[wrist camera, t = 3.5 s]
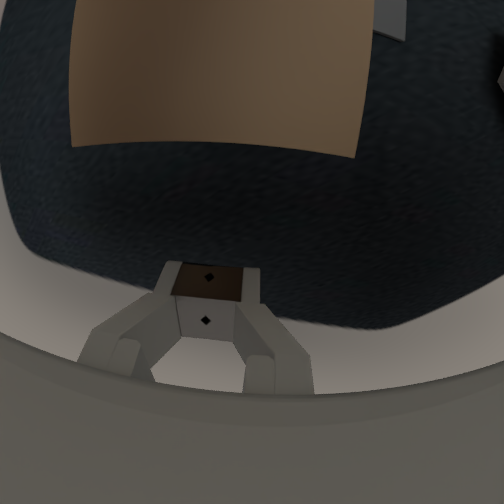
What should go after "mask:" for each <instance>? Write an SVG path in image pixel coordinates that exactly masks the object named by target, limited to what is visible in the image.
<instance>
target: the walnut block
mask: <svg viewBox="0 0 504 504" xmlns="http://www.w3.org/2000/svg"><path fill="white" fill-rule="evenodd" d="M373 19H374V0H77V2H76V8H75V14H74V21H73V28H72V37H71V48H70V65H69V110H70V128H71V140H72V147H77V146H87V145H97V144H109V143H124V142H147V141H202V142H226V143H242V144H254V145H266V146H275V147H284V148H293V149H300V150H308V151H315V152H321V153H327V154H333V155H339V156H345V157H350V158H354V157H355V152H356V147H357V142H358V137H359V131H360V126H361V120H362V114H363V108H364V101H365V95H366V88H367V80H368V73H369V64H370V55H371V45H372V33H373Z"/></svg>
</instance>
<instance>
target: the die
mask: <svg viewBox="0 0 504 504" xmlns="http://www.w3.org/2000/svg"><path fill="white" fill-rule="evenodd" d="M497 82H498V84H499V85H500V87H501V89H502V90H503V92H504V67H503V70H502V72H501V74H500V77H499V79H498V81H497Z"/></svg>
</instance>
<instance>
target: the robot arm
mask: <svg viewBox="0 0 504 504" xmlns="http://www.w3.org/2000/svg"><path fill="white" fill-rule="evenodd" d="M242 280H243V281H242ZM181 336H182V337H193V338H204V339H212V340H220V341H229V342H233V344H234V345H235V347H236V349H237V351H238V353H239V354H240V356H241V358H242V360H243V361H244V363H245V365H246V369H245V377H244V384H243V391H242V393H234V392H223V391H213V390H204V389H196V388H188V387H182V386H175V385H169V384H163V383H158V382H155V379H154V377H153V375H152V372H151V370H150V368H151V367H152V366H153V365H155V364H156V363H157V362H158V360H160V359H161V358H162V356H164V354H165V353H167V352H168V351H169V350H170V348H172V346H174V345H175V344H176V343H177V342H178V341H179V340H180V339H181ZM0 504H504V361H502V362H499V363H496V364H493V365H490V366H487V367H484V368H480V369H477V370H474V371H470V372H467V373H463V374H459V375H455V376H451V377H447V378H443V379H438V380H434V381H429V382H424V383H418V384H413V385H408V386H402V387H395V388H387V389H380V390H371V391H362V392H351V393H336V394H316V395H315V394H314V385H313V377H312V369H311V361H310V355H309V354H308V353H307V352H306V351H305V350H304V349H303V348H302V347H301V345H300V344H299V343H298V342H297V341H296V340H295V338H294V337H293V336H292V335H291V334H290V333H289V332H288V331H287V329H286V328H285V327H284V326H283V325H282V324H281V323H280V321H279V320H278V319H277V318H276V317H275V316H274V314H273V313H272V312H271V311H270V310H269V309H268V307H267V306H266V305H265V304H260V269H259V268H249V267H244V269H243V268H241V267H228V266H215V265H207V264H198V263H189V262H179V261H167V262H166V264H165V266H164V268H163V270H162V272H161V275H160V277H159V279H158V282H157V284H156V286H155V288H154V291H153V293H147V294H146V295H144V296H143V297H141V298H139V299H138V300H136V301H135V302H133V303H132V304H130V305H129V306H127V307H126V308H124V309H122V310H121V311H119V312H118V313H117V314H115V315H113V316H112V317H111V318H109V319H107V320H106V321H104V322H103V323H101V324H100V325H98V326H97V327H95V328H94V329H92V331H91V333H90V335H89V337H88V339H87V341H86V343H85V345H84V348H83V349H82V352H81V354H80V356H79V358H78V360H77V362H74V361H71V360H68V359H65V358H62V357H59V356H56V355H54V354H51V353H48V352H46V351H43V350H40V349H38V348H35V347H33V346H30V345H28V344H26V343H23V342H21V341H19V340H16V339H14V338H12V337H10V336H7V335H5V334H3V333H1V332H0Z"/></svg>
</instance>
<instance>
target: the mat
mask: <svg viewBox="0 0 504 504" xmlns="http://www.w3.org/2000/svg"><path fill="white" fill-rule="evenodd" d="M405 31H406V0H374V19H373V32H375V33H378V34H381V35H383V36H386V37H389V38H392V39H394V40H397V41H400V42H403V41H405Z"/></svg>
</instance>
